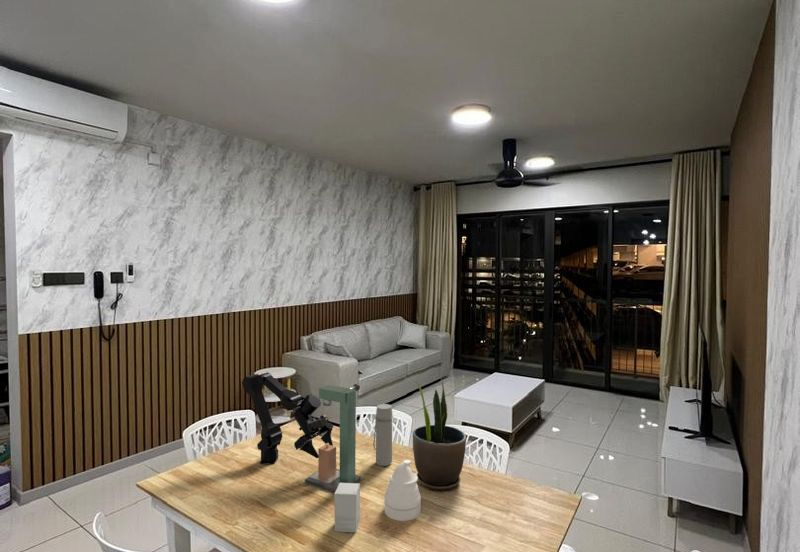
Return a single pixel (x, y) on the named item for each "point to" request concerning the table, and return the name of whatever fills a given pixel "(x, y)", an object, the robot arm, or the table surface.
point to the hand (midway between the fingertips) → (325, 453)
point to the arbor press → (341, 437)
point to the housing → (327, 461)
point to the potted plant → (438, 449)
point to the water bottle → (383, 434)
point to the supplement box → (347, 507)
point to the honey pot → (402, 494)
